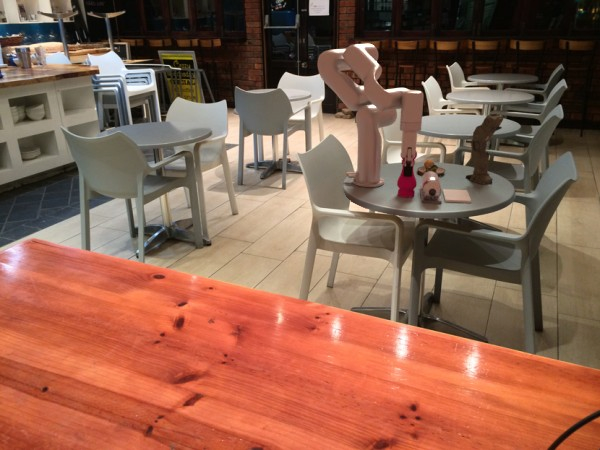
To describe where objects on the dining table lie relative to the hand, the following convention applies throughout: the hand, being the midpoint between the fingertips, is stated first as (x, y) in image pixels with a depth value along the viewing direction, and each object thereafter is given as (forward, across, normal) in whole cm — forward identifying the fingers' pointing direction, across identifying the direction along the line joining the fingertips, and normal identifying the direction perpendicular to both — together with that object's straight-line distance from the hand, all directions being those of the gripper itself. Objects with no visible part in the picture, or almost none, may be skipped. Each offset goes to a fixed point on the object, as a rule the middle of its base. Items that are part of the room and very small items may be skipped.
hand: (407, 173), depth 184 cm
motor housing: (+8, 0, +9) cm, 12 cm away
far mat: (+8, 0, +18) cm, 20 cm away
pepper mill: (+9, 0, 0) cm, 9 cm away
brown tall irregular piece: (+9, -21, +30) cm, 38 cm away
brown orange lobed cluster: (+9, -30, +11) cm, 33 cm away
